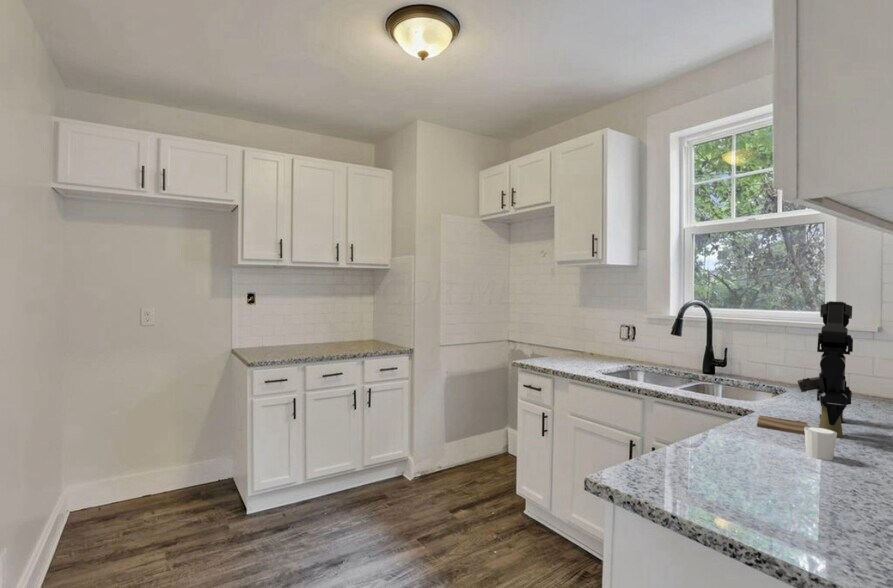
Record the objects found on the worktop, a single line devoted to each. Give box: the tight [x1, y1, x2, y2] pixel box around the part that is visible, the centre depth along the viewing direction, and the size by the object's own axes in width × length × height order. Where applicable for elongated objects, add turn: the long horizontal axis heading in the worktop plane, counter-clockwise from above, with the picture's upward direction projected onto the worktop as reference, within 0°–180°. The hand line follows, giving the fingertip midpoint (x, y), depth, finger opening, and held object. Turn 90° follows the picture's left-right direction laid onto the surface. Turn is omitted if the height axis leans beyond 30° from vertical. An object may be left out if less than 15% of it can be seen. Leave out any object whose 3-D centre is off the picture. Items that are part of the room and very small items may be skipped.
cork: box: [818, 403, 844, 439], centre depth 144 cm, size 6×6×11 cm
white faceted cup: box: [804, 426, 837, 461], centre depth 124 cm, size 7×7×7 cm
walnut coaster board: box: [756, 415, 809, 436], centre depth 152 cm, size 13×13×1 cm
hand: (830, 421), depth 144 cm, fingers open, 9 cm apart
